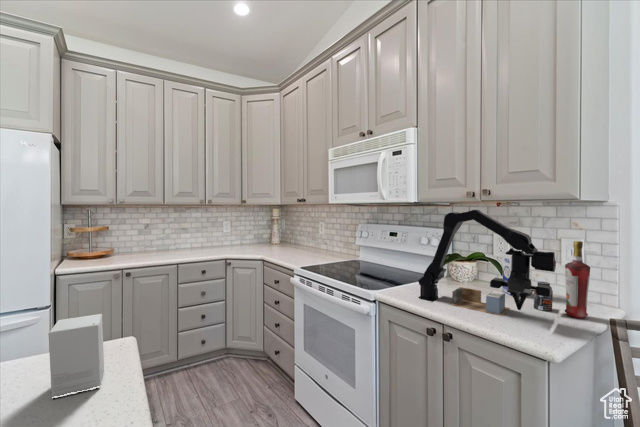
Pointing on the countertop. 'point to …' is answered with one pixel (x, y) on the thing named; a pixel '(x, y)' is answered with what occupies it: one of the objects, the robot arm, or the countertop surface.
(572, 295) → the liquor
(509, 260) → the milk carton
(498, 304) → the grey rectangular block
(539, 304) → the supplement bottle
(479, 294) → the shelf
